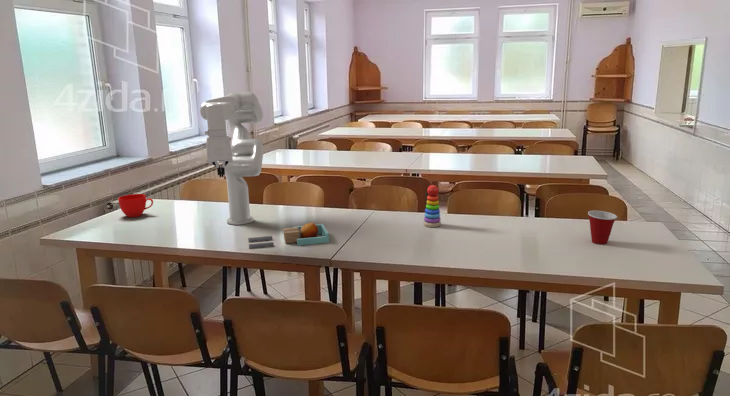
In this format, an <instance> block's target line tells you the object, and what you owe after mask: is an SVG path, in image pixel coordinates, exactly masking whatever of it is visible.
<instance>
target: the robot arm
mask: <svg viewBox="0 0 730 396" xmlns="http://www.w3.org/2000/svg"><path fill="white" fill-rule="evenodd" d="M199 113H200V116H201V118H202V119H204V120H205V121H206V122H207V123H206V124H207V131H204V135H206V136H207V137H206V159H207V160H206V163H207V164H209V165H213V166H214V167H215V168H216V171H217V176H219V178H224V175H225V180H226V186H227V187H226V189H227V198H228V209H229V218H227V219H226V223H227V224H229V225H232V226H233V225H235V226H237V225H240V226H242V225H245V224H246V225H248V224H251V223H253V222H254V221H255V219H254V217H253V216H251V211H250V210H251V209H250V198H249V186H248V185H249V184H248V183H247V181H246V180H245V179H244V178H246V177H258V176H260V174H261V171H262V168H263V166H262V165H263V159H264V144H263V142H262V141H261V140H260V139H258V138H251V134H250V131H249V130H248V129H247V128H246V127H245V126H244V125H243V124H257V123H261V122H262V121H263V117H264V112H263V109H262V107H261V103H260V101H259V99H258V97H257V95H256V94H255V93H254V92H253V91H243V92H242V91H237V92H231V93H229V94H227V95H225V96H221V97H218V98H213V99H207V100H206V101H203V103H202V104H201V105H200V108H199ZM226 120H227V121H228V125H229V128H230V130H231V139H230V136H229V135H228V130H227V129H228V127H227V121H226ZM219 162H221V165H220V163H219Z"/></svg>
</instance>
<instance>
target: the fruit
mask: <svg viewBox="0 0 730 396" xmlns="http://www.w3.org/2000/svg"><path fill="white" fill-rule="evenodd" d="M316 225H317V224H316V223H314V222H307V223H305V224H304V225H301V226H302V227H301V229H300V232H301V238H311V237H318V235H319V234H318V227H317V226H316Z"/></svg>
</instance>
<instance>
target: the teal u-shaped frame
mask: <svg viewBox="0 0 730 396" xmlns="http://www.w3.org/2000/svg"><path fill="white" fill-rule="evenodd" d="M315 225H316V226H317V227H318V234H317V235H321V236H317V237H311V238H302V237H301V239H297V242H296V245H297V246H305V245H307V246H308V245H315V244H326V243H327V244H328V243H330V237H329V235H330V233H329V231H328V230H327V228H326V227H325V225H324V223H319V224H318V223H317V224H315ZM302 226H303V225H300V226H299V225H298V226H293V227H292V228H294V227H298V228H299V229H301V227H302Z"/></svg>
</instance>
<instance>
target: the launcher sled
mask: <svg viewBox="0 0 730 396" xmlns="http://www.w3.org/2000/svg"><path fill="white" fill-rule="evenodd" d="M293 227H294V228H293ZM293 227H286V228H285V227H284V228H283V239H284V243H285V244H292V243H297V239H301V238H302V237H301V232H300V229H299V228H298V227H296V226H293Z"/></svg>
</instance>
